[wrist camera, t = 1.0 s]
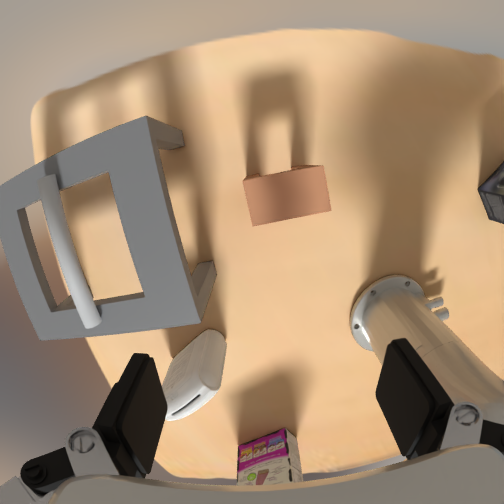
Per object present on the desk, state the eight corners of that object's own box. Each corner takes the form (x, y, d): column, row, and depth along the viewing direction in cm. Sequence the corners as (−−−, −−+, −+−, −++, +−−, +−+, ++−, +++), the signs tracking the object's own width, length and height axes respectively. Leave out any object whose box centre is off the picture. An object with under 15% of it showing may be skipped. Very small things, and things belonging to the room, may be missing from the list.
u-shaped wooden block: (303, 165, 35) (323, 165, 24) (309, 197, 36) (331, 210, 25) (246, 176, 35) (242, 181, 24) (253, 208, 36) (252, 226, 26)
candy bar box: (251, 455, 50) (250, 520, 35) (237, 445, 49) (233, 513, 34) (299, 438, 48) (308, 507, 33) (286, 426, 47) (293, 499, 32)
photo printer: (189, 376, 44) (173, 432, 32) (168, 360, 43) (146, 415, 31) (232, 340, 42) (225, 400, 30) (209, 322, 41) (194, 379, 29)
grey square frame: (181, 130, 33) (137, 112, 19) (216, 274, 39) (197, 334, 25) (48, 181, 35) (-22, 195, 21) (83, 299, 40) (32, 348, 26)
